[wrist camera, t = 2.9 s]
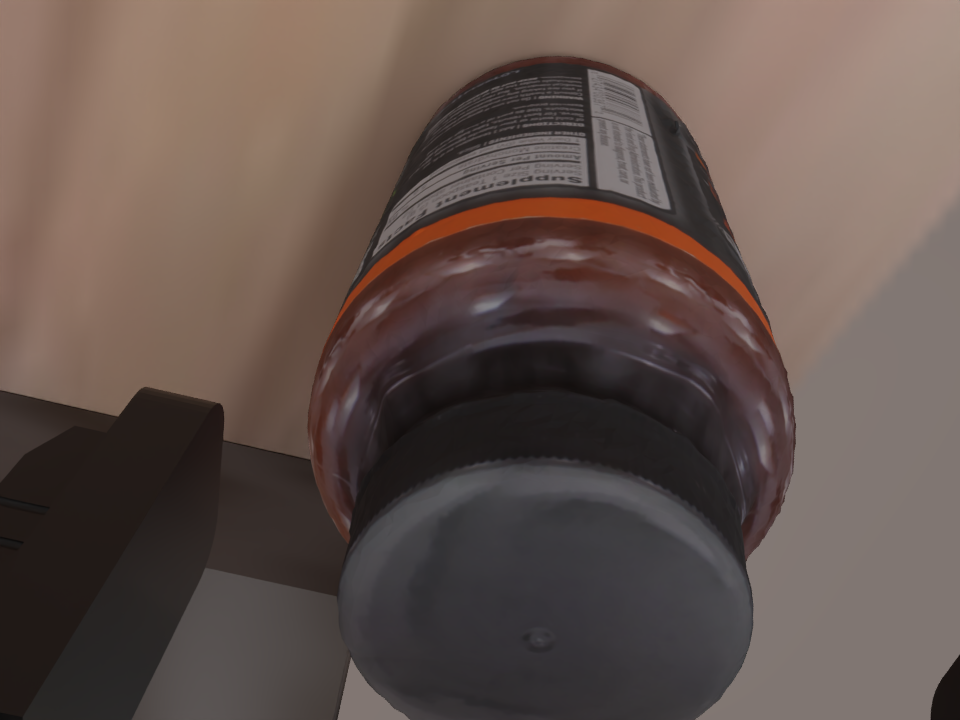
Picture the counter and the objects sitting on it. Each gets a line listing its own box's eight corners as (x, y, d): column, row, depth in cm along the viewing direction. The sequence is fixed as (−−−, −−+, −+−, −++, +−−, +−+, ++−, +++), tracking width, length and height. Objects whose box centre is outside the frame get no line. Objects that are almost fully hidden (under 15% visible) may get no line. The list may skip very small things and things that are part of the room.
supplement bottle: (708, 316, 19) (848, 829, 10) (433, 339, 20) (312, 832, 11) (703, 24, 16) (900, 351, 7) (379, 66, 17) (141, 409, 8)
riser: (-56, 685, 28) (-141, 808, 25) (-102, 367, 22) (-226, 474, 18) (326, 765, 29) (294, 895, 25) (389, 478, 22) (358, 601, 19)
